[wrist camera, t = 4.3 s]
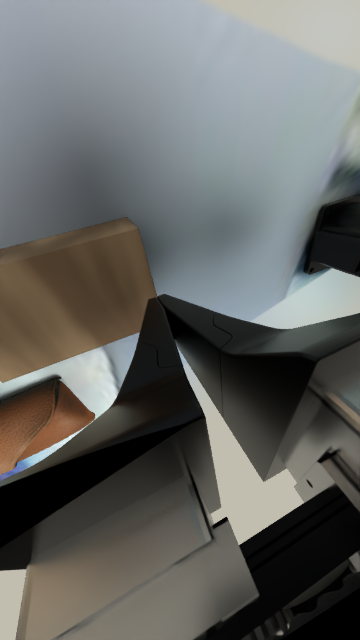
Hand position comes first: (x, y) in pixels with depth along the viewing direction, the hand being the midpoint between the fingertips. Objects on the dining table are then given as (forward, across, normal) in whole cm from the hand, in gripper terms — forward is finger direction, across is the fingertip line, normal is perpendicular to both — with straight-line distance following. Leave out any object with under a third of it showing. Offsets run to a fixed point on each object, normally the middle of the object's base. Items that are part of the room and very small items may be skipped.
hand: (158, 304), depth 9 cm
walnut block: (+4, 0, 0) cm, 4 cm away
